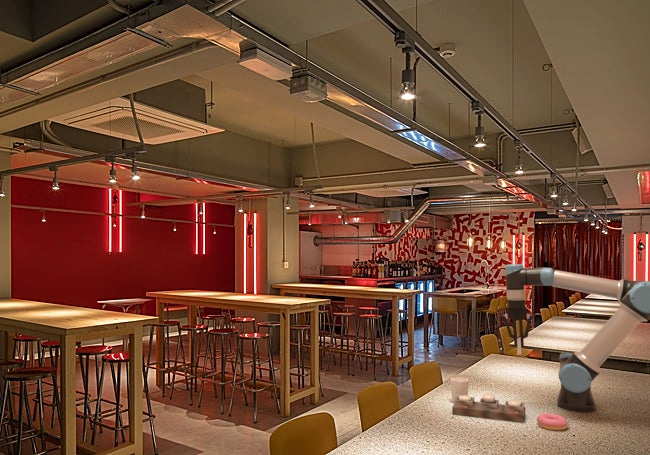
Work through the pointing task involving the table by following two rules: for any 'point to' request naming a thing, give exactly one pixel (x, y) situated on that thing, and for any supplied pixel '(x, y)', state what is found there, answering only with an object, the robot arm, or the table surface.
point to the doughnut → (552, 421)
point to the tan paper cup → (459, 387)
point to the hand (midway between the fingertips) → (519, 353)
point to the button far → (464, 398)
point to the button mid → (488, 398)
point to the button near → (514, 403)
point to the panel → (489, 410)
